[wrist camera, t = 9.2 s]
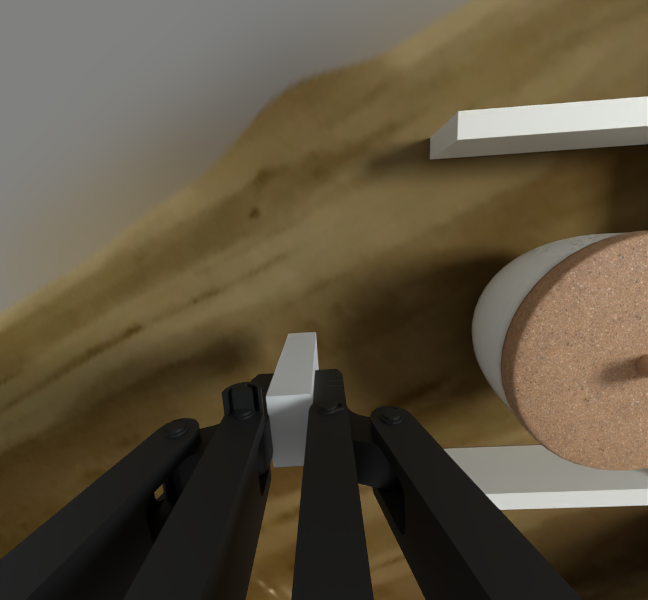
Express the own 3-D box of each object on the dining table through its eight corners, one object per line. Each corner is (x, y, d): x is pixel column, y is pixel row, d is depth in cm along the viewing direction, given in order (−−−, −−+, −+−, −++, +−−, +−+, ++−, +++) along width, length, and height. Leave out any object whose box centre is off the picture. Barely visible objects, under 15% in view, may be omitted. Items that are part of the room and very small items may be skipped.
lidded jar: (420, 276, 20) (498, 315, 10) (585, 199, 18) (840, 167, 9) (476, 409, 22) (584, 540, 12) (629, 348, 20) (872, 445, 11)
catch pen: (425, 463, 23) (445, 511, 19) (430, 137, 18) (458, 111, 14) (634, 455, 22) (699, 503, 18) (700, 117, 17) (809, 84, 13)
